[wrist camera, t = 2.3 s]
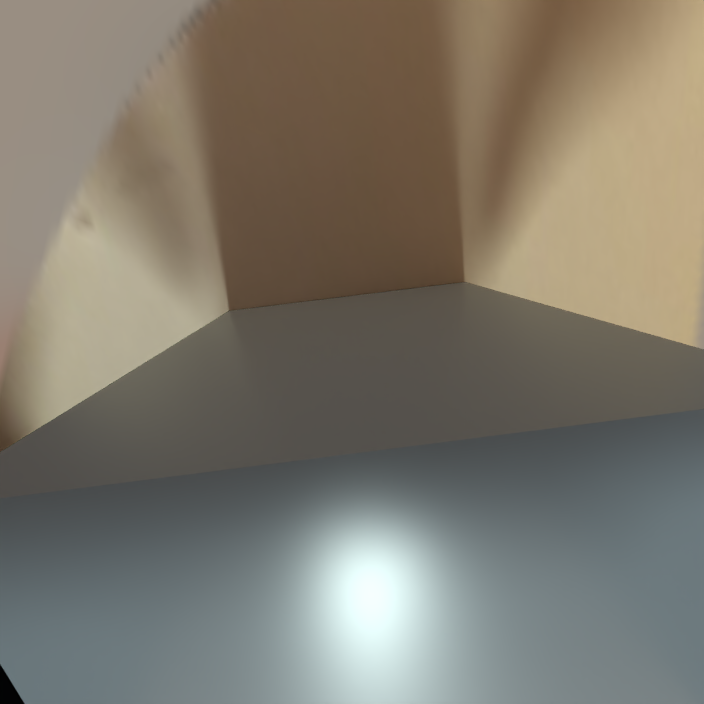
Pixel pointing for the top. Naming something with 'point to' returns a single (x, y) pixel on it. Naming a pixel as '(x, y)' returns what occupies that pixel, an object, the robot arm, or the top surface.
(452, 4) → the top surface
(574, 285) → the top surface
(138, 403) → the pale grey box
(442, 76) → the top surface
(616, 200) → the top surface
